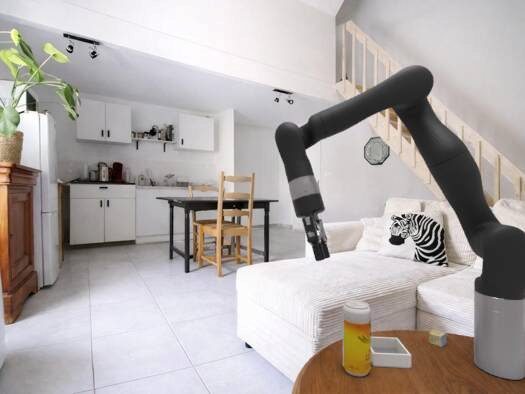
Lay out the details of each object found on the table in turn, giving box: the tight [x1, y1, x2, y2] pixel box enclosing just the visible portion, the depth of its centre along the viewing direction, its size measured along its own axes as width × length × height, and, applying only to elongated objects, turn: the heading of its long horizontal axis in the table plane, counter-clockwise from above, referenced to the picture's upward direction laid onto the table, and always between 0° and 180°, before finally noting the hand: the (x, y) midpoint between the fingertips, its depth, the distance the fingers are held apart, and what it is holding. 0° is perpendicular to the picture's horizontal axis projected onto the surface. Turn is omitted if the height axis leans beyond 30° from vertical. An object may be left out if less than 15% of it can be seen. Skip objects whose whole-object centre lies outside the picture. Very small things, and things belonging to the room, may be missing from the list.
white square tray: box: [371, 336, 412, 369], centre depth 73 cm, size 9×9×3 cm
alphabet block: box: [428, 329, 447, 348], centre depth 80 cm, size 3×3×3 cm
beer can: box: [341, 299, 372, 378], centre depth 67 cm, size 6×6×15 cm
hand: (323, 259), depth 72 cm, fingers open, 8 cm apart
